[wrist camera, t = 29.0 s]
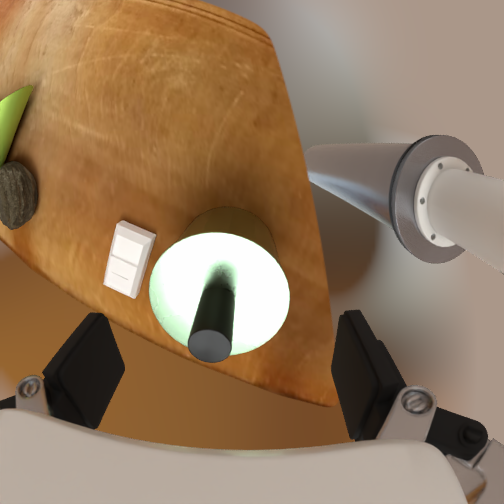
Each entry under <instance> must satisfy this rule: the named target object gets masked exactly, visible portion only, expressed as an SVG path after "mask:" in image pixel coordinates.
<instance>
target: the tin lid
mask: <svg viewBox="0 0 504 504" xmlns="http://www.w3.org/2000/svg"><path fill="white" fill-rule="evenodd" d="M149 297H150V303H151V306H152V310H153V312H154V314H155V316H156V318H157V320H158V321H159V323H160V324H161V326H162V327H163V328H164V330H165V331H166V332H167V333H168V334H169V335H170V336H172V337H173V338H174V339H175V340H177V341H178V342H180V343H181V344H183V345H184V346H186V347H188V348H189V351H190V352H191V354H192V355H193V356H194V357H196V358H197V359H199V360H201V361H204V362H209V363H215V362H220V361H223V360H224V359H226V358H227V357H228V356H229V355H236V354H241V353H245V352H248V351H251V350H253V349H255V348H257V347H259V346H261V345H263V344H264V343H266V342H267V341H268V340H270V339H271V338H272V337H273V336H274V335H275V334H276V333H277V331H278V330H279V329H280V327H281V326H282V324H283V323H284V320H285V318H286V316H287V313H288V309H289V303H290V291H289V285H288V281H287V278H286V275H285V272H284V271H283V269H282V267H281V265H280V263H279V262H278V261H277V259H276V258H275V257H274V256H273V255H272V253H271V252H270V251H269V250H267V249H266V248H265V247H264V246H262V245H261V244H260V243H258V242H256V241H255V240H253V239H251V238H249V237H246V236H244V235H241V234H238V233H234V232H229V231H222V230H210V231H202V232H197V233H193V234H191V235H188V236H185V237H183V238H182V239H180V240H178V241H176V242H175V243H174V244H172V245H171V246H170V247H169V248H168V249H167V250H166V251H165V252H164V253H163V254H162V255H161V257H160V258H159V259H158V261H157V262H156V264H155V266H154V268H153V270H152V274H151V277H150V282H149Z"/></svg>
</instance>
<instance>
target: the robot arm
mask: <svg viewBox="0 0 504 504" xmlns="http://www.w3.org/2000/svg"><path fill="white" fill-rule="evenodd" d="M414 214H415V220H416V223H417V226H418V228H419V230H420V232H421V233H422V235H423V236H424V237H425V238H426V239H427V240H428V241H430V242H431V243H433V244H435V245H436V246H440V247H449V246H453V245H455V244H457V245H458V246H460V247H462V248H463V249H465V250H467V251H468V252H470V253H472V254H473V255H475V256H476V257H478V258H480V259H481V260H483V261H484V262H486V263H487V264H489V265H490V266H492V267H493V268H495V269H496V270H498V271H499V272H501V273H502V274H504V180H501V179H498V178H494V177H490V176H485V175H482V174H477V173H473V171H472V170H471V168H470V167H469V166H468V165H467V164H466V163H465V162H464V161H462V160H461V159H458V158H455V157H449V156H447V157H441V158H438V159H436V160H434V161H433V162H431V163H430V164H429V165H428V166H427V167H426V168H425V170H424V171H423V173H422V174H421V176H420V179H419V181H418V183H417V187H416V191H415V196H414ZM124 371H125V365H124V362H123V360H122V357H121V354H120V352H119V349H118V347H117V344H116V341H115V338H114V336H113V333H112V330H111V327H110V324H109V321H108V319H107V317H105V316H104V314H102V313H89V314H88V315H87V316H86V318H85V319H84V320H83V321H82V322H81V324H80V325H79V326H78V327H77V328H76V330H75V331H74V332H73V333H72V334H71V336H70V337H69V338H68V339H67V341H66V342H65V343H64V344H63V346H62V347H61V348H60V349H59V351H58V352H57V353H56V354H55V356H54V357H53V358H52V360H51V361H50V362H49V364H48V365H47V366H46V368H45V369H44V370H43V372H42V373H43V375H44V376H45V378H44V379H42V378H41V377H40V376H37V375H30V376H27V377H25V378H23V379H22V380H21V381H20V382H19V383H18V384H17V387H16V391H15V393H16V395H15V396H12V397H9V398H7V399H4V400H1V401H0V504H504V445H502V444H501V443H499V442H498V441H497V440H495V439H494V438H493V439H492V440H491V441H490V440H489V439H488V434H487V430H486V429H485V427H484V426H483V425H482V424H481V423H480V422H478V421H476V420H473V419H470V418H467V417H464V416H461V415H458V414H455V413H452V412H449V411H447V410H444V409H441V408H439V407H437V400H436V397H435V395H434V394H433V392H431V391H430V390H429V389H428V388H425V387H423V386H418V385H413V386H412V385H411V386H408V387H407V386H406V384H405V382H404V380H403V378H402V376H401V374H400V372H399V370H398V369H397V367H396V365H395V363H394V361H393V359H392V358H391V356H390V354H389V352H388V351H387V349H386V347H385V345H384V343H383V342H382V341H381V340H377V339H376V337H375V335H374V334H373V332H372V330H371V328H370V327H369V325H368V323H367V321H366V320H365V318H364V316H363V315H362V313H361V311H360V310H349V311H345V312H344V315H340V317H339V322H338V329H337V336H336V342H335V348H334V354H333V359H332V365H331V372H332V376H333V380H334V383H335V387H336V390H337V394H338V397H339V401H340V404H341V408H342V411H343V415H344V419H345V422H346V426H347V430H348V433H349V437H350V439H355V442H350V443H341V444H334V445H326V446H318V447H306V448H293V449H276V450H222V449H221V450H220V449H205V448H193V447H182V446H174V445H166V444H159V443H154V442H147V441H142V440H136V439H132V438H127V437H122V436H118V435H113V434H109V433H105V432H101V431H97V430H94V429H96V428H98V426H99V424H100V422H101V420H102V417H103V415H104V413H105V411H106V409H107V406H108V404H109V402H110V400H111V398H112V396H113V394H114V392H115V390H116V388H117V386H118V384H119V382H120V379H121V378H122V375H123V373H124Z"/></svg>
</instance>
